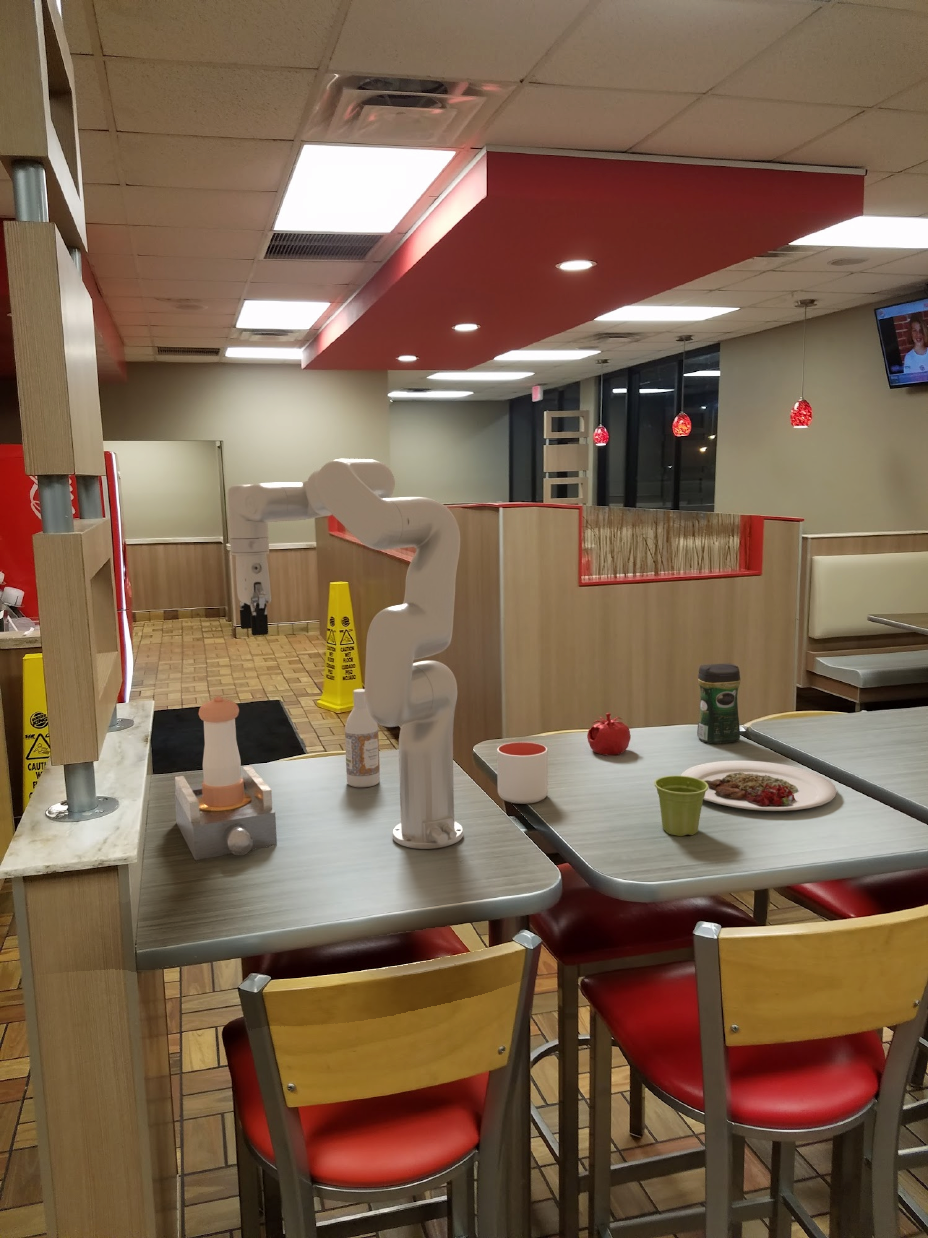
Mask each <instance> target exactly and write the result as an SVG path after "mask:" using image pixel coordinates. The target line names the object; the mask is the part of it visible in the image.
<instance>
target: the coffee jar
mask: <svg viewBox="0 0 928 1238" xmlns="http://www.w3.org/2000/svg"><path fill="white" fill-rule="evenodd" d="M740 673H741V672H740V668H739V666H738V665H735V664H733V663H728V662H727V663H714V664H713V663H711V664H703V665H700V666H699V669H698V676H697V677H698V678H697V683H698V685H699V689H700V701H699V702H700V704H699V712H698V713H699V714H698V720H697V732H696V733H697V738H698V739H699V740H700V741H701V742H702V743H708V744H728V743H735V742H738V741H739V740H740V738H741V728H740V719H739V706H738V705H739V704H738V694H739V693H738V692H739V688H740V685H741V674H740Z"/></svg>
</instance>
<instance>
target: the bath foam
mask: <svg viewBox="0 0 928 1238" xmlns="http://www.w3.org/2000/svg"><path fill="white" fill-rule="evenodd" d="M352 693H353V694H352V695H353V696H352V697H353V707H352V709H351V712H350V713H349V715H348V717H347V718H346V722H345V726H344V727H345V728H344V742H345V743H344V744H345V745H344V746H345V747H344V748H345V763H346V764H345V765H346V766H345V767H346V771H345V772H346V782H347V784H348V786H350V787H353V788H370V787H374V786H375V785H379V783H380V781H381V773H380V771H381V770H380V765H381V764H380V739H379V726H378V725H379V724H378V723H376V722H375V721H374V720H373V719H372V717H371V716H370V714H369V712H368V710H367V707H366V702H365V688H357V689H354V690H353V691H352Z"/></svg>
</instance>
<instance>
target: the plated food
mask: <svg viewBox="0 0 928 1238" xmlns="http://www.w3.org/2000/svg"><path fill="white" fill-rule="evenodd" d="M679 776H688V777H694V778H697V779H700V780H703V781H705V782H706V783H707V784H708V790H707V791H706V792H705V796H704V798H703V801H706V802H707V801H708V802H712V803H714V804H717V805H723V806H728V807H731V808H736V809H745V810H751V811H752V810H753V811H754V810H755V811H762V812H763V811H766V812H770V811H771V812H777V811H780V812H781V811H783V812H784V811H797V810H804V809H811V808H815V807H818V806H819V807H820V806H823V805H825V804H827V803H829V802H831V801H832V800H833V799H834V798H836V794H837V788H836V787H837V786H836V785H835V784H834V783H833V782H832V781H831V780H829V779H828V778H826V777H825V776H823V775H820V774H818V773H815V772H813V771H811V770H808V769H805V768H800V767H797V766H793V765H789V764H784V763H783V764H782V763H778V762H777V763H776V762H768V761H759V760H757V761H756V760H722V761H721V760H719V761H713V762H705V763H702V764H697V765H695V766H691V767H689V768H687V769H686V770H683V772H682V773H681V774H680V775H679Z"/></svg>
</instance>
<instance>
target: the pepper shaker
mask: <svg viewBox="0 0 928 1238" xmlns="http://www.w3.org/2000/svg"><path fill="white" fill-rule="evenodd" d="M239 713H240V708H239V705H238V704H237V703H236V702H235V701H232V700H230V699H225V698H223V696H221V695H219V696H218V695H217V696H216V695H215V697H213V699H212V700H209V701H206V702H204V703H203V704H201V706H200V707H199V709H198V716H199V719H201V721H203V734H204V738H203V739H204V747H203V757H202V773H203V781H202V783H201V785H202V794H203V803H204V804H205V805H207V806H212V807H223V806H230V805H234V804H238V803H240V802H242V801H243V800H244V783H243V777H242V767H241V765H242V764H241V755H240V752H239V747H238V741H237V729H236V718H238V716H239Z"/></svg>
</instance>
